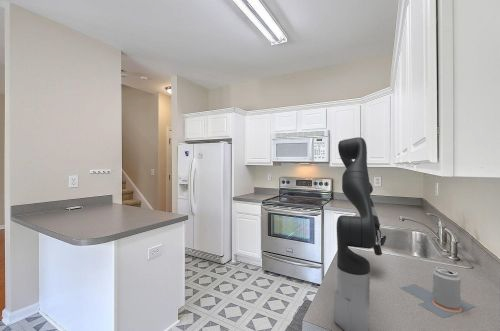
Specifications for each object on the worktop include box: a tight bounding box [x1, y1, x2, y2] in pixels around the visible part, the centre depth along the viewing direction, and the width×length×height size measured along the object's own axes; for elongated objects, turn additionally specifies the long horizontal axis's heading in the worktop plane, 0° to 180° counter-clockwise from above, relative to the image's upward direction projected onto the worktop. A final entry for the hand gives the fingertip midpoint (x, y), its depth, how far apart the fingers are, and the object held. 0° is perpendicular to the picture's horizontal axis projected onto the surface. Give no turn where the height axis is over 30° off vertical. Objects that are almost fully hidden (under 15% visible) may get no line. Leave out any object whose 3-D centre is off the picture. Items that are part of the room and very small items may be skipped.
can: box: [432, 266, 462, 309], centre depth 82 cm, size 8×8×12 cm
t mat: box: [399, 283, 476, 319], centre depth 86 cm, size 18×18×1 cm
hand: (379, 254), depth 101 cm, fingers closed
